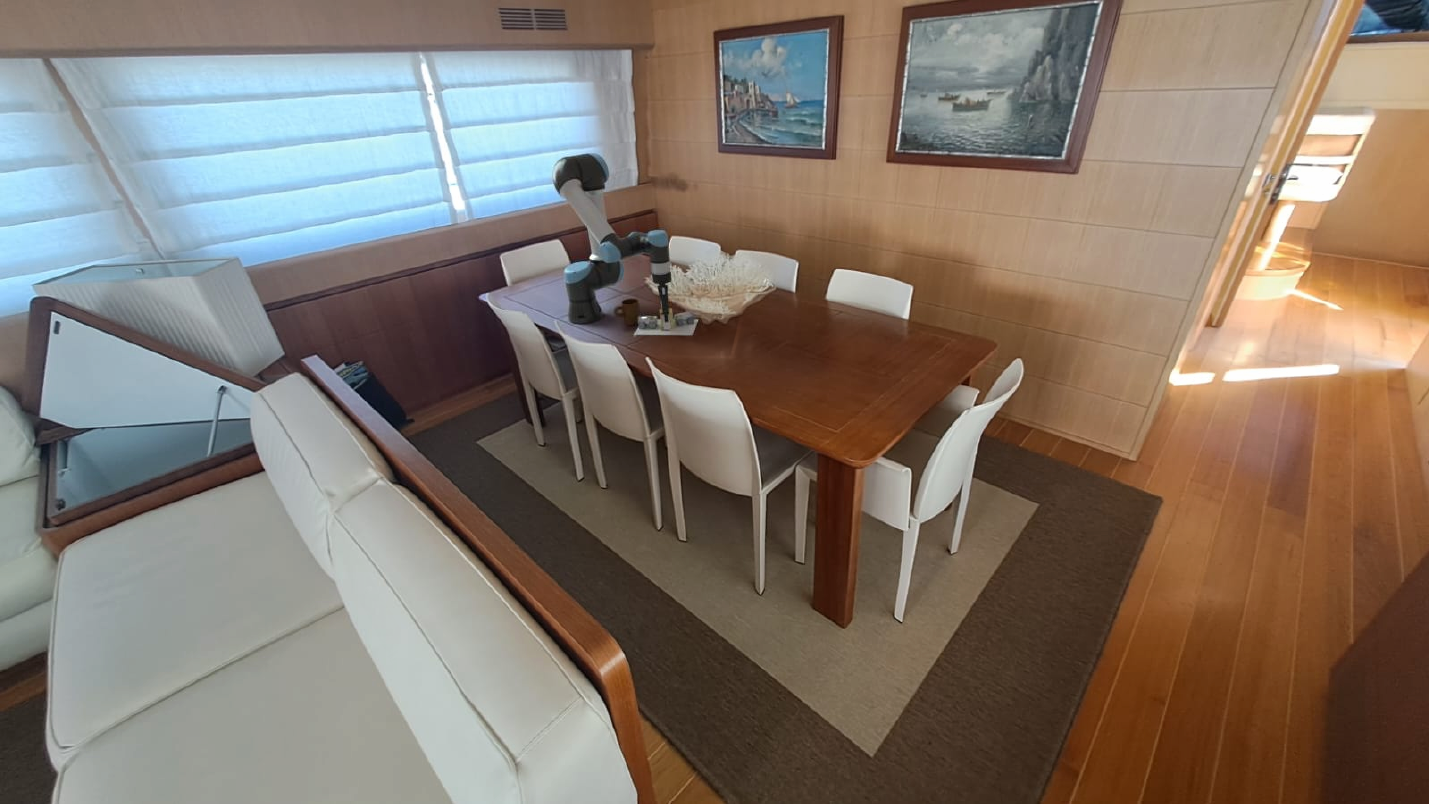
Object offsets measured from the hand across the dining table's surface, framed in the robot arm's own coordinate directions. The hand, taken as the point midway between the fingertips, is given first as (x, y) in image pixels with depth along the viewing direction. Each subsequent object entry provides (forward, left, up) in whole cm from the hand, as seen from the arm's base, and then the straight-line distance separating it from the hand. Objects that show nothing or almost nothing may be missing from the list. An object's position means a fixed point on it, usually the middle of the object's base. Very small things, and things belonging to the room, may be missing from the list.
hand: (666, 322), depth 223 cm
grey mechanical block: (-6, -5, -2) cm, 8 cm away
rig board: (0, 0, -3) cm, 3 cm away
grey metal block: (+3, +7, -2) cm, 8 cm away
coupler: (0, 0, -2) cm, 2 cm away
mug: (-18, -7, -3) cm, 19 cm away
